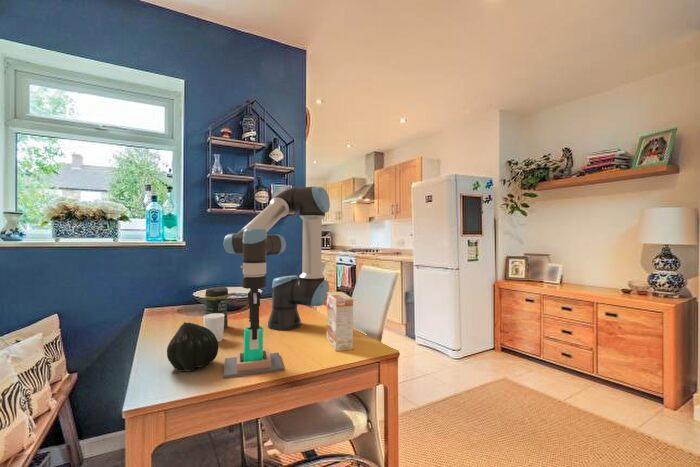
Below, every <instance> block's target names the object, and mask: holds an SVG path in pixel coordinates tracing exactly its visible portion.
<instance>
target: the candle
mask: <svg viewBox="0 0 700 467" xmlns="http://www.w3.org/2000/svg"><path fill="white" fill-rule="evenodd" d="M248 328H250V327H249V326H248V327H244V329H243V330H244V331H243V352H244V362H251V361H260V360H263V350H264V327H263V326H260V325H259V349H252V350H250V330H248Z"/></svg>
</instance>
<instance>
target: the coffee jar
mask: <svg viewBox="0 0 700 467" xmlns="http://www.w3.org/2000/svg"><path fill="white" fill-rule="evenodd" d="M228 297H229V290H228V287H227V286H226V287H225V286H216V287H210V288H207V289H206V290H205V295H204V298H205V301H206V302H205V303H206V304H205V305H206V309H205V315H208V314H214V313H220V314H224V329H225V328H228V325H229V324H228V323H229V322H228V309H227V307H228V306H227V304H228V303H227V302H228Z"/></svg>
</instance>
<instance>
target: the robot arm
mask: <svg viewBox="0 0 700 467" xmlns="http://www.w3.org/2000/svg"><path fill="white" fill-rule="evenodd" d="M330 207H331V202H330V197H329V194H328V191H327V190H326V189H325V187H322V186H302V187H290V188H287V189H285V190H283V191H281V192H279V193H278V194H277V195H275V196H274V197H273V198H272V199H271V200H270V201H269V204H268V205H267V206H266V207H265V208H264V209H263V210H262V211H261V212H259V213H258V214H257V215H255V217H254V218H253V219H252V220H250V221H249V222H248V223H247V224H246V225H245V226H244V227H243V228H242V229H241V230H239V231H238V232H237V233H229V234H227V235H225V237H224V239H223V248H224V250H225V252H226V253H228V254H232V255H242V265H240V269H242V275H243V276H242V279H241V283H242V285H241V286H242V288H243V289H247V290H249V292H247V299H248V302H247V303H248V308H249V314H248V319H249V320H248V322H249V323H248V324H249V326H248V327H250V328H248V327H247V328H248V330H250V350H252V349H259V326H260V306H261V299H262V298H261V297H262V296H261V295H262V294H261V292H260V291H259V289H265V287H267V276H266V274H267V257H269V256H278V255H280V254H282V253H284V252H285V250H286V248H287V242H286V239H285V237H284V236H282V235H281V234H277V233H272V234H270V233H269V234H267V233H268V232H269V231H270V230H271V229H272V227H274V226H275V224H277V223H278V221H279V220H280V219H281V218H284V217H287V215H288V214H293V213H295V214H296V213H299V215H298V216H299V218H301V220H302V261H301V262H302V264H301V265H302V267H301V268H302V273H300V274H299V276H298V275H286V276H280V277H275V278H273V280H272V283H271V284H272V286H271V301H272V302H271V311H270V315H269V317H268V320H267V327H268V328H269V329H271V330H276V331H287V330H289V331H290V330H295V329H297V328H299V327H300V326H301V324H302V320H301V317H300V313H299V311H298V306H300V305H301V306H309V307H321V306H323V305H324V304H325V303H326V302H327V292H330V285H329V281H327V280H326V279H325V275H324V274H323V273H322V231H323V230H322V227H323V226H322V222H323V219H324V218H326V213H328V212H329V210H330Z"/></svg>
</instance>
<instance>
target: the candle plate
mask: <svg viewBox="0 0 700 467" xmlns="http://www.w3.org/2000/svg"><path fill="white" fill-rule="evenodd" d="M223 363H224V364H223V376H222V378H223V379H227V378H233V377H243V376H251V375H257V374H258V375H259V374H267V373H276V372H284V370H285V369H284V368H285V367H284V364H283V362H282V358H281V355H280V353H279V352H273V353H270V350H269V349H267V348H266V349H263V360H260V361H251V362H244V351H239V352H236V356H233V357H225V358H224V362H223Z"/></svg>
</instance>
